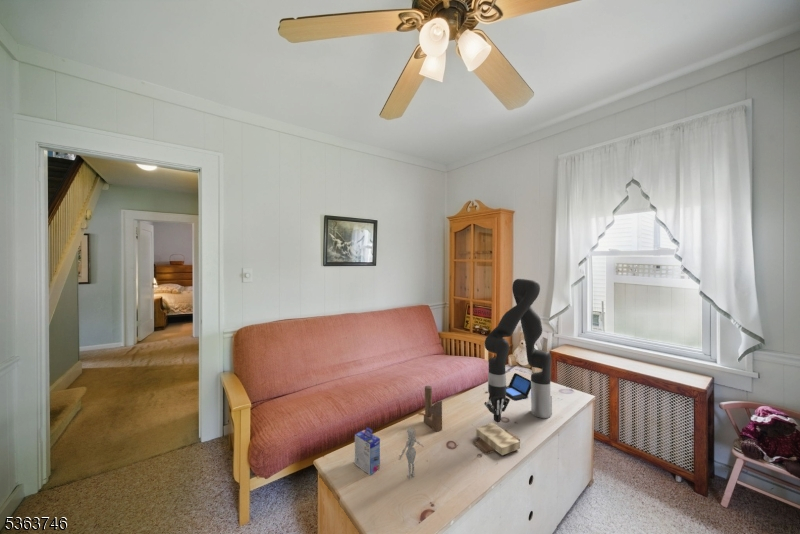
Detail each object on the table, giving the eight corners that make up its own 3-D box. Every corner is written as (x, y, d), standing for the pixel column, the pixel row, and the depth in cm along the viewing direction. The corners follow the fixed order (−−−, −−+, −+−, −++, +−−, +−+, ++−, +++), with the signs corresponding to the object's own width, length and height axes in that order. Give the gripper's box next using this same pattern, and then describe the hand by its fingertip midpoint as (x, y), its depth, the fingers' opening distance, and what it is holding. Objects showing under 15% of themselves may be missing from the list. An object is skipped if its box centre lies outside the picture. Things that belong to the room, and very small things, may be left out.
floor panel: (506, 431, 137) (506, 429, 137) (519, 441, 129) (519, 439, 129) (473, 443, 129) (473, 440, 129) (486, 453, 121) (486, 451, 121)
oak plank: (493, 422, 137) (519, 441, 123) (493, 429, 137) (519, 449, 123) (476, 428, 133) (501, 448, 119) (476, 435, 133) (502, 456, 119)
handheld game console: (497, 390, 181) (497, 375, 181) (514, 386, 186) (514, 372, 186) (515, 401, 166) (515, 385, 166) (533, 397, 171) (533, 381, 171)
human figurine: (420, 467, 114) (419, 422, 114) (426, 472, 111) (426, 426, 111) (395, 482, 107) (394, 433, 106) (402, 488, 104) (401, 438, 103)
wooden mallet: (436, 432, 137) (435, 394, 137) (423, 421, 147) (422, 386, 146) (442, 429, 139) (442, 392, 139) (429, 419, 149) (428, 384, 148)
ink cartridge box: (381, 468, 114) (380, 432, 114) (370, 476, 110) (369, 438, 110) (365, 457, 121) (364, 422, 120) (354, 464, 117) (353, 428, 116)
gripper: (491, 388, 121) (491, 430, 121) (514, 382, 127) (515, 422, 127) (479, 382, 128) (479, 421, 128) (502, 376, 133) (502, 414, 134)
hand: (497, 421), depth 128 cm, fingers closed
